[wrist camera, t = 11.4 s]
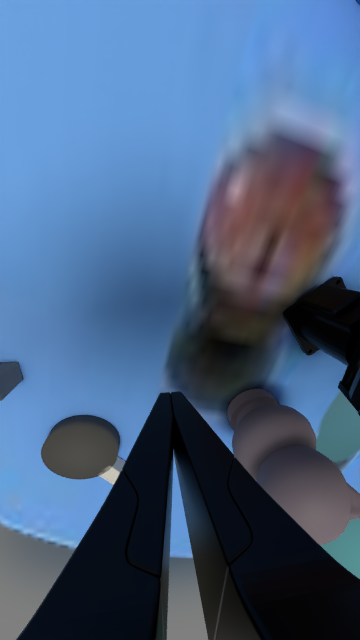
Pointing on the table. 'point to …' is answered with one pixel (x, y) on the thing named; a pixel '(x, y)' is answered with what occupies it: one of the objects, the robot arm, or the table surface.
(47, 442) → the ping pong paddle
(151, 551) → the robot arm
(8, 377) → the breaker housing
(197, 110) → the table surface
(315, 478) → the cat figurine
